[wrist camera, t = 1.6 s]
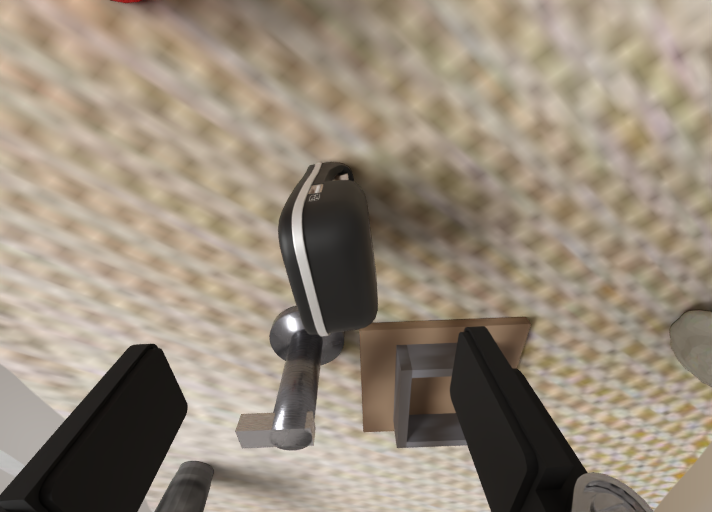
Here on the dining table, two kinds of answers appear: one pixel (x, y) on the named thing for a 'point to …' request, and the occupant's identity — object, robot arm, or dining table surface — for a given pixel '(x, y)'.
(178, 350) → the dining table surface
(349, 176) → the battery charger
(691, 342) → the ceramic sculpture
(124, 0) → the soda can
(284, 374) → the post
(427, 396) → the holder
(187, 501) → the beverage cup
